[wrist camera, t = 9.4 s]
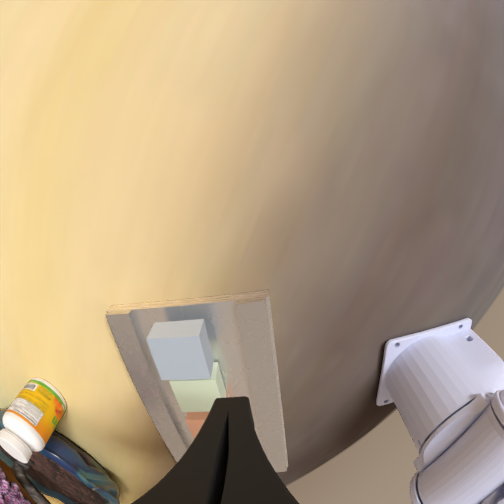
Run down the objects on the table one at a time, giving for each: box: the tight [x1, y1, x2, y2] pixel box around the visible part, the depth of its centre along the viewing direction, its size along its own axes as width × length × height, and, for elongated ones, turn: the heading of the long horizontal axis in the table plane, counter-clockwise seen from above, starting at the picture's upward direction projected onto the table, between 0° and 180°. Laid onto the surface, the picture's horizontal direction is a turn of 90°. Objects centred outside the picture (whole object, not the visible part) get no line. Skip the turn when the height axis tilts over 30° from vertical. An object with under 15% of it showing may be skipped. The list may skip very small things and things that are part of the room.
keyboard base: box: [106, 290, 288, 472], centre depth 23 cm, size 12×22×2 cm, turn 8°
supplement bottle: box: [0, 378, 66, 463], centre depth 20 cm, size 5×5×10 cm
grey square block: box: [146, 319, 214, 380], centre depth 18 cm, size 3×3×2 cm
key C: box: [185, 412, 209, 439], centre depth 22 cm, size 3×3×2 cm
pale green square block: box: [169, 362, 226, 412], centre depth 20 cm, size 3×3×2 cm
